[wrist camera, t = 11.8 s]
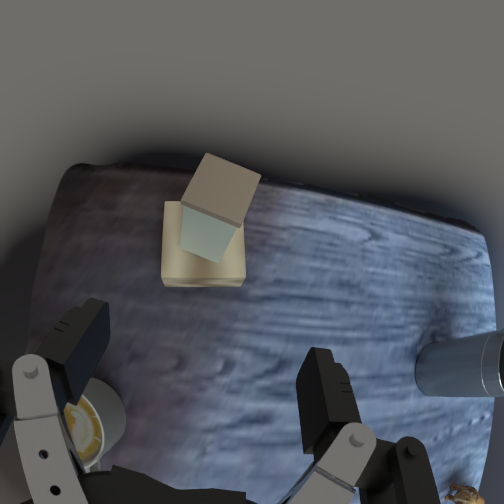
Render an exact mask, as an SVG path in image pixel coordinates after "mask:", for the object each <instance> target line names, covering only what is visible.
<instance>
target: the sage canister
mask: <svg viewBox="0 0 504 504" xmlns="http://www.w3.org/2000/svg"><path fill="white" fill-rule="evenodd" d="M260 177H261V175H260V174H257V173H255V172H253V171H250V170H248V169H245V168H243V167H241V166H238V165H236V164H233V163H231V162H228V161H226V160H224V159H221V158H219V157H216V156H214V155H211V154H208V153H206V154H205V156H204V158H203V160H202V161H201V163H200V165H199V167H198V169H197V170H196V172H195V174H194V176H193V178H192V180H191V182H190V183H189V185H188V187H187V189H186V191H185V193H184V195H183V197H182V199H181V205H184V206H183V216H182V227H181V238H180V248H181V249H184V250H186V251H188V252H191V253H193V254H196V255H198V256H201V257H203V258H205V259H208V260H210V261H213V262H215V263H218V264H219V262H220V260H221V258H222V256H223V254H224V253H225V251H226V249H227V247H228V245H229V243H230V241H231V239H232V237H233V235H234V233H235V231H236V229H237V228H240V227H241V225H242V223H243V220H244V218H245V215H246V213H247V210H248V208H249V205H250V203H251V200H252V198H253V195H254V192H255V190H256V187H257V185H258V182H259V180H260Z"/></svg>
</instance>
